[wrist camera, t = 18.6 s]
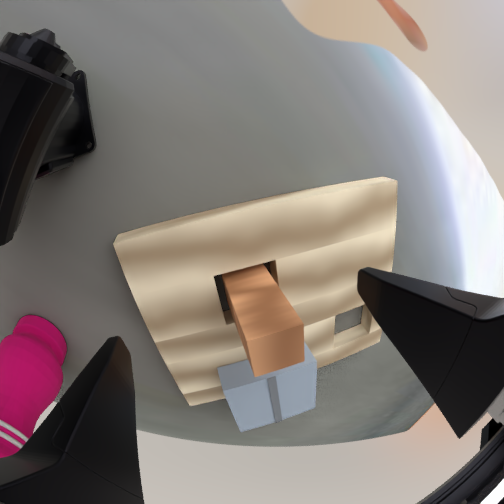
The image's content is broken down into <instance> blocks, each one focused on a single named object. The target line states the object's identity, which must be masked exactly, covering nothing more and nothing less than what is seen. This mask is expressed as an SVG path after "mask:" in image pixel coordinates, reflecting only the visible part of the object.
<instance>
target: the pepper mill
mask: <svg viewBox="0 0 504 504" xmlns="http://www.w3.org/2000/svg"><path fill="white" fill-rule="evenodd" d="M66 352H67V346H66V342H65V340H64V337H63V336H62V334H61V333H60V331H59V330H58V329H57V328H56V327H55V326H54V325H53V324H52V323H50V322H49V321H48V320H46V319H44V318H42V317H39V316H35V315H27V316H24V317H22V318H21V319H20V320H19V322H18V323H17V325H16V327H15V328H14V330H13V334H12V335H8V336H7V337H5V338H4V339H3V340H2V342H1V344H0V458H2V457H7V456H10V455H13V454H15V453H16V452H17V451H19V450H20V449H21V448H22V446H23V445H24V444H25V443H26V442H27V440H28V439H29V438H30V437H31V436H32V435H33V431H34V428H35V424H36V422H37V420H38V418H39V416H40V415H41V414H42V413H43V411H44V410H45V409H46V408H47V407H48V406H49V405H50V404H51V403H52V402H53V401H54V399H55V398H56V396H57V395H58V393H59V391H60V388H61V385H62V382H63V373H62V369H61V366H62V364H63V361H64V358H65V355H66Z"/></svg>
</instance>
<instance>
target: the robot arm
mask: <svg viewBox="0 0 504 504" xmlns="http://www.w3.org/2000/svg"><path fill="white" fill-rule="evenodd" d="M72 63H73V61H72V59H71V58H70V57H69V56H68V54H67V53H66V52H64V51H63V50H61V49H60V46H59V45H58V44H56V43H55V33H53V32H52V31H50V30H48V29H42V30H39V31H37V32H34V33H32V34H30V35H29V34H26V33H20V34H19V35H17V34H14V33H11V32H8V33H7V34H6V35H5V36H4V38H3V39H2V41H1V42H0V246H2V245H4V244H6V243H8V242H9V241H10V240H12V239H13V235H14V232H15V231H16V230H17V228H18V226H19V224H20V222H21V219H22V216H23V213H24V209H25V206H26V203H27V200H28V197H29V194H30V191H31V189H32V186H33V183H34V181H35V180H37V179H39V178H42V177H44V176H47V175H49V174H51V173H54V172H56V171H58V170H61V169H63V168H66V167H68V166H71V165H72V164H73V162H74V161H73V158H75V157H78V156H80V155H83V154H85V153H88V152H91V151H93V150H94V149H95V148H96V139H95V134H94V129H93V123H92V117H91V111H90V105H89V98H88V90H87V82H86V74H85V73H84V72H83V71H81V70H78V71H76V72H74V71H75V70H76V67H75V66H74V65H73V64H72ZM79 74H81V78H80V79H78V80H77V76H78V75H79ZM88 142H91V143H92V146H91V148H88V147H87V144H88ZM357 291H358V294H359V295H360V297H361V298H362V300H363V302H364V303H365V305H366V306H367V308H368V310H369V311H370V313H371V314H372V316H373V318H374V319H375V321H376V322H377V323H378V325H379V326H380V327H381V329H382V330H383V331H384V333H385V334H386V335H387V337H388V338H389V339H390V341H391V342H392V343H393V345H394V346H395V347H396V349H397V350H398V351H399V353H400V354H401V355H402V357H403V358H404V359H405V361H406V362H407V363H408V365H409V366H410V367H411V369H412V370H413V372H414V373H415V374H416V376H417V377H418V379H419V380H420V381H421V383H422V384H423V386H424V387H425V389H426V390H427V391H428V393H429V394H430V396H431V397H432V399H433V400H434V402H435V403H436V405H437V406H438V408H439V409H440V411H441V412H442V414H443V415H444V417H445V418H446V420H447V421H448V423H449V424H450V426H451V427H452V429H453V430H454V432H455V434H456V435H457V437H458V438H459V439H460V438H461V437H462V436H463V435H464V434H466V433H467V432H468V431H469V430H470V429H471V428H472V427H473V426H474V425H475V424H476V423H477V422H478V421H479V420H480V419H481V418H482V417H483V416H484V415H485V414H486V413H487V412H488V413H489V414H490V415H491V417H492V419H491V421H490V422H489V423H488V424H487V425H486V426H485V427H484V428H483V429H482V433H481V445H480V451H479V452H478V453H477V454H476V455H475V456H474V457H473V458H472V459H471V460H470V461H469V462H468V463H467V464H466V465H465V466H463V467H462V468H461V469H460V470H459V471H458V472H457V473H456V474H454V475H453V476H452V477H451V478H450V479H449V480H447V481H446V482H445V483H444V484H442V485H441V486H440V487H438V488H437V489H436V490H435V491H433V492H432V493H431V494H429V495H428V496H427V497H425V498H424V499H422V500H421V501H419V502H418V503H417V504H504V298H498V297H493V296H487V295H482V294H477V293H472V292H467V291H462V290H458V289H454V288H450V287H445V286H442V285H439V284H435V283H431V282H427V281H423V280H419V279H415V278H411V277H407V276H403V275H399V274H395V273H391V272H387V271H383V270H379V269H375V268H371V267H365V268H362V269H360V270H359V271H358V276H357ZM0 504H144V500H143V492H142V486H141V478H140V469H139V459H138V448H137V435H136V414H135V390H134V382H133V373H132V363H131V356H130V353H129V351H128V349H127V347H126V346H125V344H124V342H123V340H122V339H121V337H119V336H115V337H110V338H108V339H107V341H106V342H105V343H104V344H103V346H102V347H101V348H100V349H99V350H98V352H97V353H96V354H95V355H94V357H93V358H92V359H91V360H90V362H89V363H88V364H87V365H86V367H85V368H84V369H83V370H82V372H81V373H80V374H79V376H78V377H77V378H76V379H75V381H74V382H73V383H72V385H71V386H70V387H69V388H68V390H67V391H66V392H65V394H64V395H63V396H62V398H61V399H60V401H59V402H58V403H57V404H56V406H55V407H54V409H53V410H52V411H51V412H50V414H49V415H48V416H47V418H46V419H45V420H44V421H43V423H42V424H41V425H40V426H39V428H38V429H37V430H36V431H35V432H34V433H33V435H32V436H31V437H30V438H29V439H28V440H27V442H26V443H25V444H24V445H23V446H22V448H21V449H20V450H19V451H17V452H16V453H15V454H13V455H10V456H7V457H2V458H0Z"/></svg>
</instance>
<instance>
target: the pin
mask: <svg viewBox="0 0 504 504" xmlns="http://www.w3.org/2000/svg"><path fill="white" fill-rule="evenodd" d="M221 275H222V280H223V284H224V289H225V293H226V297H227V302H228V305H229V308H230V311H231V313H232V316H233V319H234V322H235V325H236V328H237V330H238V333H239V336H240V339H241V342H242V344H243V347H244V350H245V352H246V355H247V358H248V361H249V363H250V366H251V369H252V371H253V374H254V377H257V376H261V375H264V374H267V373H271V372H274V371H277V370H280V369H283V368H286V367H289V366H292V365H295V364H298V363H301V362H303V361H305V357H304V323H303V322H302V320H301V319H300V317H299V316H298V314H297V313H296V311H295V310H294V309H293V307H292V306H291V304H290V303H289V301H288V300H287V298H286V297H285V295H284V294H283V292H282V291H281V289H280V288H279V286H278V285H277V283H276V282H275V281H274V279H273V278H272V276H271V275H270V273H269V272H268V270H267V269H266V267H265V266H264V264H263V263H262V264H258V265H254V266H250V267H246V268H243V269H239V270H235V271H231V272H227V273H224V274H221Z"/></svg>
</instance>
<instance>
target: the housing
mask: <svg viewBox="0 0 504 504" xmlns="http://www.w3.org/2000/svg"><path fill="white" fill-rule="evenodd" d="M304 357H305V361H303V362H301V363H298V364H295V365H292V366H289V367H286V368H283V369H280V370H277V371H274V372H271V373H267V374H264V375H261V376H257V377H254V374H253V371H252V369H251V366H250V363H249V361H248V359H247V360H244V361H240V362H237V363H233V364H229V365H226V366H222V367H218V368H217V370H218V374H219V378H220V382H221V386H222V389H223V392H224V395H225V397H226V400H227V402H228V404H229V407H230V409H231V411H232V414H233V416H234V418H235V420H236V423H237V425H238V427H239V429H240V431H241V432H243V431H246V430H250V429H254V428H257V427H260V426H264V425H267V424H270V423H273V422H276V423H277V422H280V421H282V420H283V419H286V418H289V417H291V416H294V415H297V414H300V413H302V412H305V411H308V410H310V409H313V408H315V399H316V376H317V361H316V359H315V357H314V356H313V354H312V353H311V351H310V349H309V348H308V346H307V345H306V343H305V342H304Z"/></svg>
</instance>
